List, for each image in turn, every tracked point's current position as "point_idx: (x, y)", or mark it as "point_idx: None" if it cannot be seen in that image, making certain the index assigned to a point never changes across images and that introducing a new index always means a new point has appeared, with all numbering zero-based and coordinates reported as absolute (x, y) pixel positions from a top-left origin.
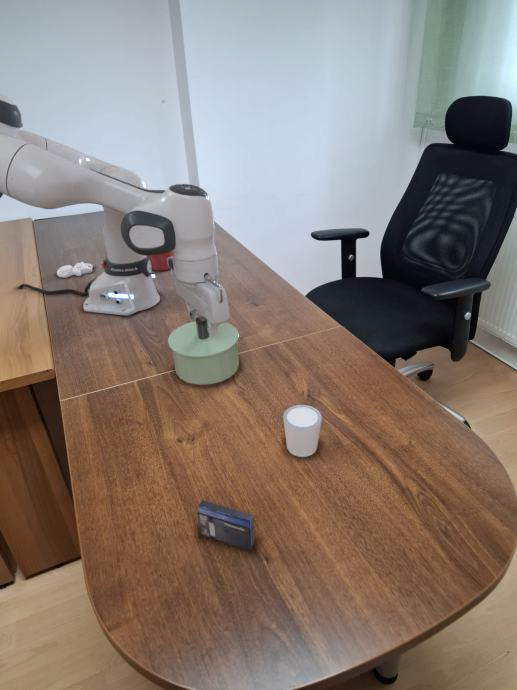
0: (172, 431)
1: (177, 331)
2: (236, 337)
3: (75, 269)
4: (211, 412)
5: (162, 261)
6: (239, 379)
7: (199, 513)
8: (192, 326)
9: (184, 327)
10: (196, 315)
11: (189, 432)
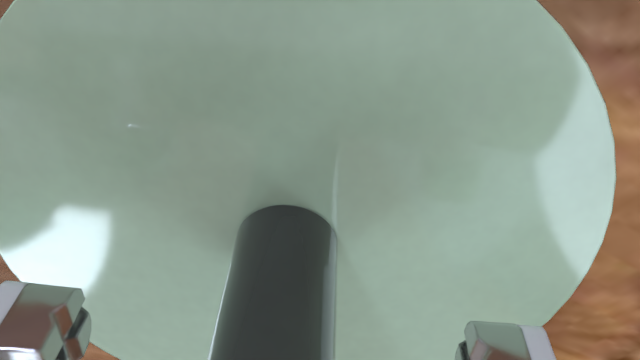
0: (564, 357)
1: (93, 317)
2: (546, 44)
3: None
4: (618, 243)
5: None
6: (557, 7)
7: None
8: (61, 221)
9: (51, 266)
10: (69, 323)
11: (622, 332)
